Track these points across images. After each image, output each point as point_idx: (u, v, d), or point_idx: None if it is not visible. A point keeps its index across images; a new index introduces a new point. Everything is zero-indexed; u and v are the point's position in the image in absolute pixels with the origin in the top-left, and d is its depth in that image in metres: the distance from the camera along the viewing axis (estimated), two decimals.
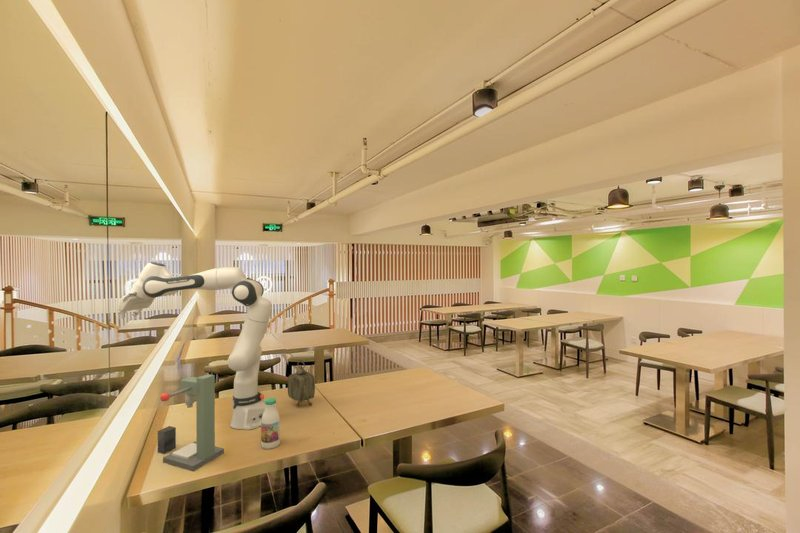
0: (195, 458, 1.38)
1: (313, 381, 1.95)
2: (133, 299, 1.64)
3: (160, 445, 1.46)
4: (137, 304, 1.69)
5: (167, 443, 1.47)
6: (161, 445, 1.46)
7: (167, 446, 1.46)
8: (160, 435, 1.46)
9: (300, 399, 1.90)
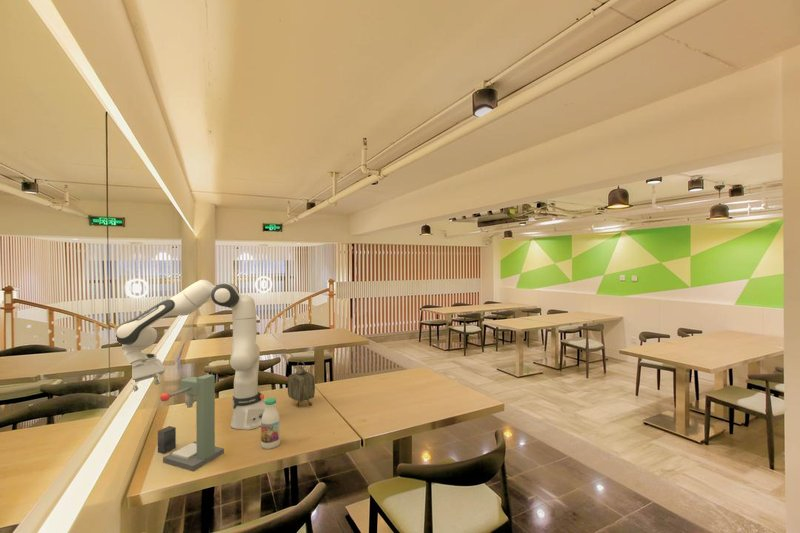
0: (195, 458, 1.38)
1: (313, 381, 1.95)
2: None
3: (160, 445, 1.46)
4: (137, 371, 1.53)
5: (167, 443, 1.47)
6: (161, 445, 1.46)
7: (167, 446, 1.46)
8: (160, 435, 1.46)
9: (300, 399, 1.90)
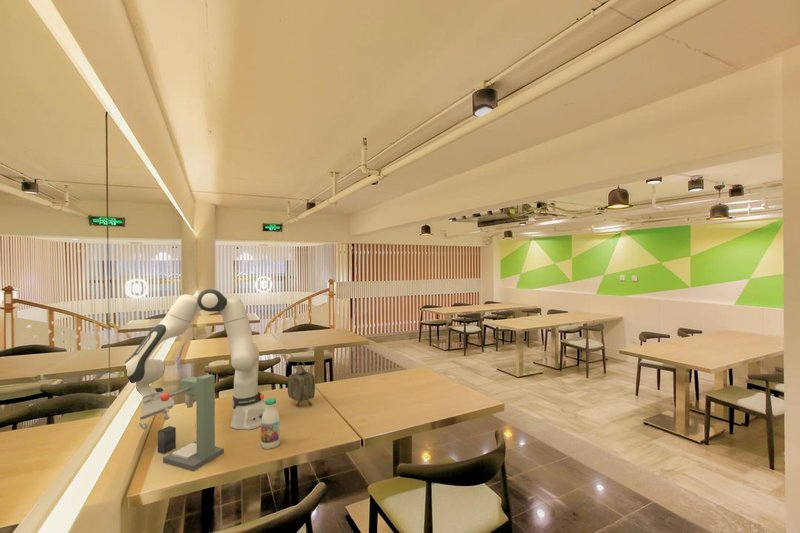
0: (195, 458, 1.38)
1: (313, 381, 1.95)
2: None
3: (160, 445, 1.46)
4: (146, 407, 1.51)
5: (167, 443, 1.47)
6: (161, 445, 1.46)
7: (167, 446, 1.46)
8: (160, 435, 1.46)
9: (300, 399, 1.90)
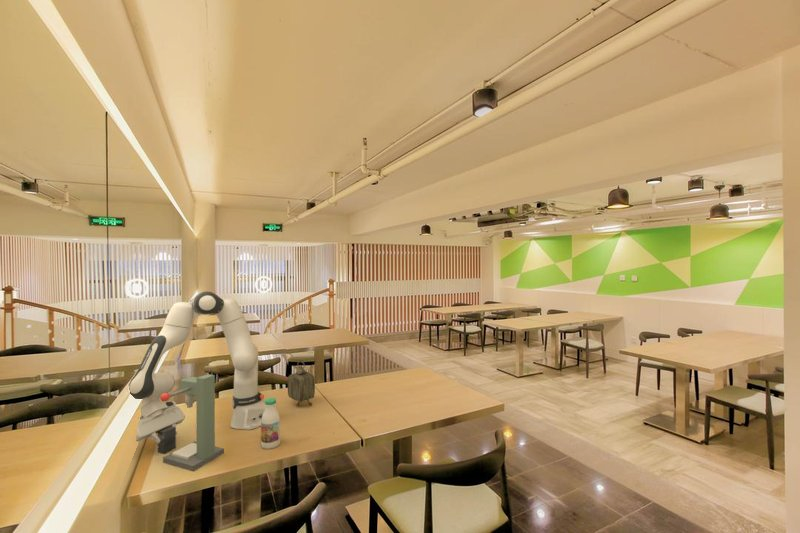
0: (195, 458, 1.38)
1: (313, 381, 1.95)
2: (140, 421, 1.44)
3: (160, 445, 1.46)
4: (157, 422, 1.48)
5: (167, 443, 1.47)
6: (161, 445, 1.46)
7: (167, 446, 1.46)
8: (160, 435, 1.46)
9: (300, 399, 1.90)
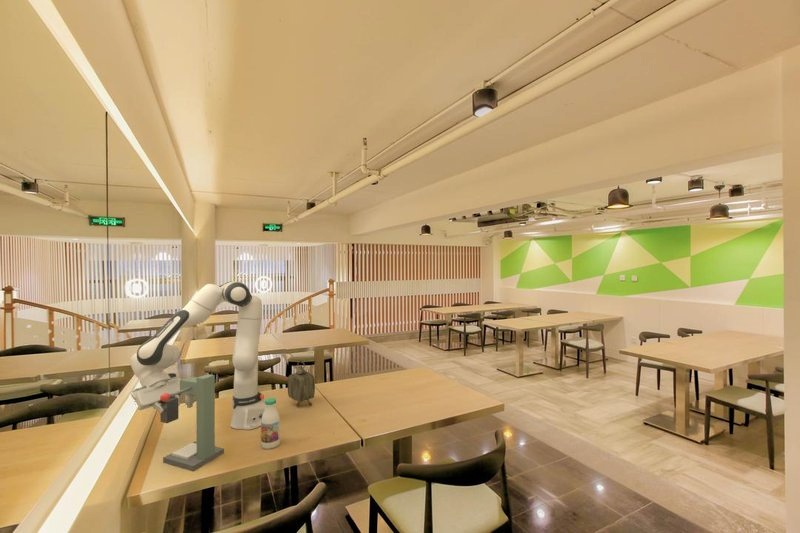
0: (195, 458, 1.38)
1: (313, 381, 1.95)
2: (143, 390, 1.44)
3: (163, 415, 1.46)
4: (160, 392, 1.48)
5: (170, 413, 1.46)
6: (164, 414, 1.45)
7: (169, 415, 1.46)
8: (163, 404, 1.46)
9: (300, 399, 1.90)
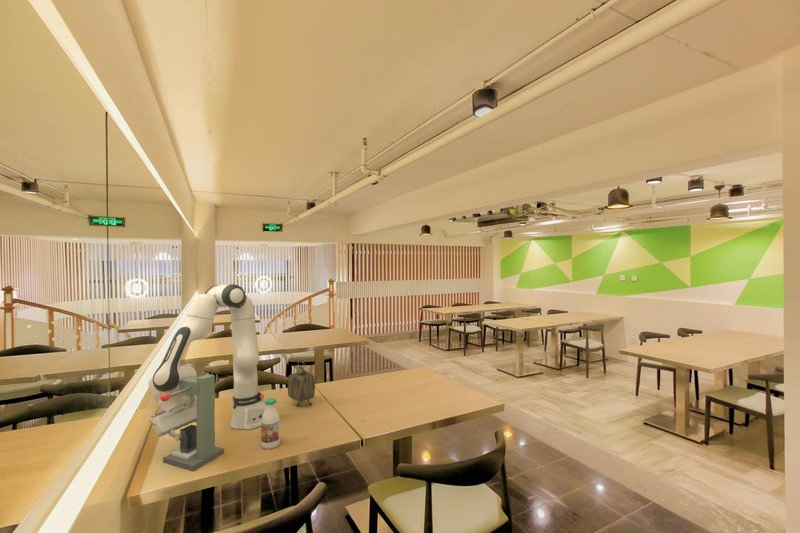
0: (195, 458, 1.38)
1: (313, 381, 1.95)
2: (163, 415, 1.39)
3: (183, 444, 1.41)
4: (179, 417, 1.43)
5: (190, 442, 1.41)
6: (184, 444, 1.41)
7: (189, 445, 1.41)
8: (183, 434, 1.41)
9: (300, 399, 1.90)
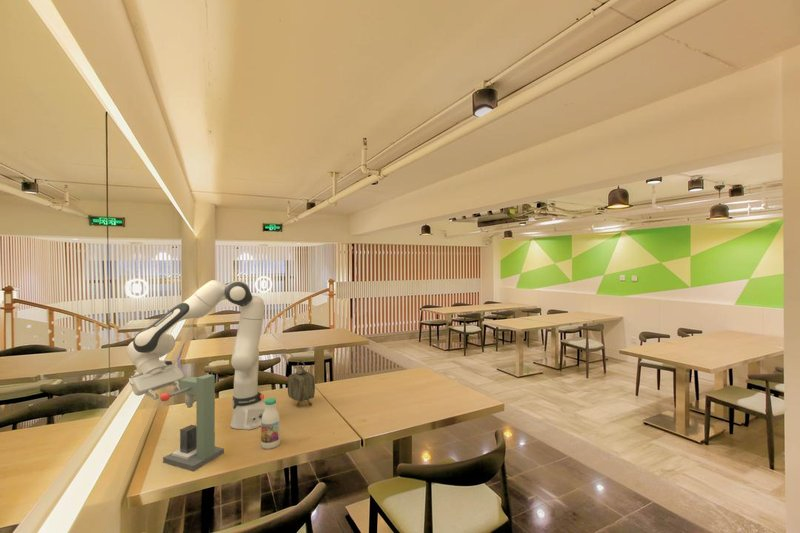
0: (195, 458, 1.38)
1: (313, 381, 1.95)
2: (140, 376, 1.48)
3: (183, 444, 1.41)
4: (157, 379, 1.52)
5: (190, 442, 1.41)
6: (184, 444, 1.41)
7: (189, 445, 1.41)
8: (183, 434, 1.41)
9: (300, 399, 1.90)
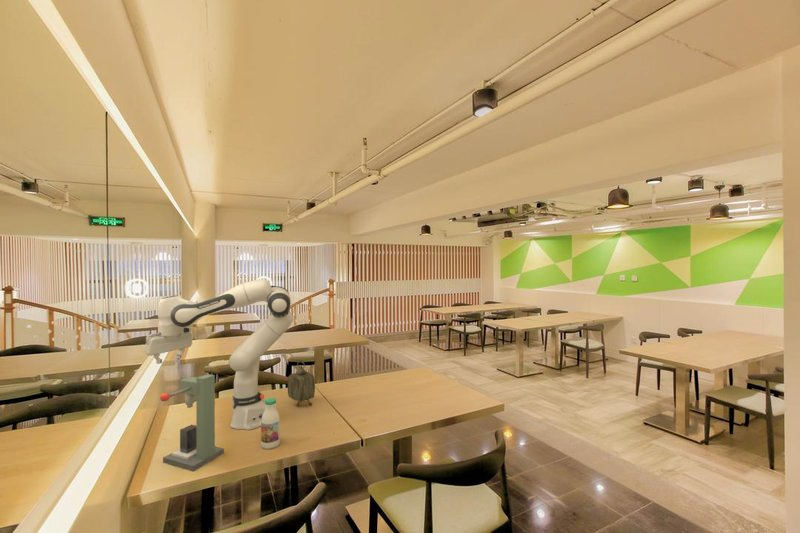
0: (195, 458, 1.38)
1: (313, 381, 1.95)
2: (157, 339, 1.53)
3: (183, 444, 1.41)
4: (169, 344, 1.58)
5: (190, 442, 1.41)
6: (184, 444, 1.41)
7: (189, 445, 1.41)
8: (183, 434, 1.41)
9: (300, 399, 1.90)
